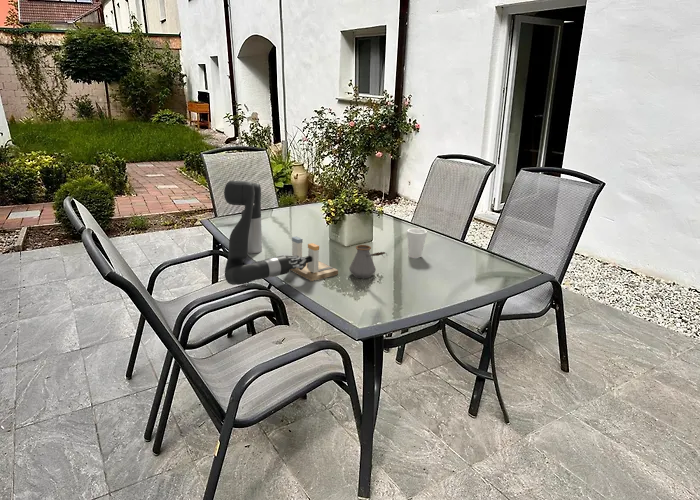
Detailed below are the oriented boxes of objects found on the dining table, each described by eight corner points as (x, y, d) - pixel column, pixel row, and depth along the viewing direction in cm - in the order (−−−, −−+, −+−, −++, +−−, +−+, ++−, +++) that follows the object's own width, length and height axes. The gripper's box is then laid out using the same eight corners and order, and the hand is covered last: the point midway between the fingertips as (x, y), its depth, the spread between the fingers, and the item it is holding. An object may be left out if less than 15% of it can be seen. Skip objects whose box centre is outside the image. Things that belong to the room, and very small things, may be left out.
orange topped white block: (314, 273, 195) (314, 246, 191) (307, 269, 198) (307, 244, 195) (318, 272, 196) (319, 246, 193) (312, 268, 200) (312, 243, 196)
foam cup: (426, 255, 231) (429, 230, 227) (421, 260, 223) (423, 234, 219) (408, 252, 235) (410, 227, 231) (402, 257, 227) (404, 231, 223)
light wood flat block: (311, 281, 193) (311, 274, 192) (285, 267, 208) (285, 260, 207) (337, 274, 202) (338, 267, 201) (311, 261, 216) (311, 255, 215)
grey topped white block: (297, 265, 204) (297, 239, 200) (291, 262, 207) (291, 237, 203) (302, 264, 205) (302, 239, 201) (296, 261, 209) (296, 236, 205)
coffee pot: (344, 273, 204) (345, 240, 199) (365, 268, 210) (367, 237, 205) (371, 290, 187) (373, 254, 182) (394, 285, 193) (396, 250, 188)
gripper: (284, 262, 178) (320, 254, 189) (266, 253, 188) (302, 246, 199) (284, 280, 181) (320, 271, 191) (266, 270, 190) (302, 262, 201)
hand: (311, 258), depth 195 cm, fingers closed
